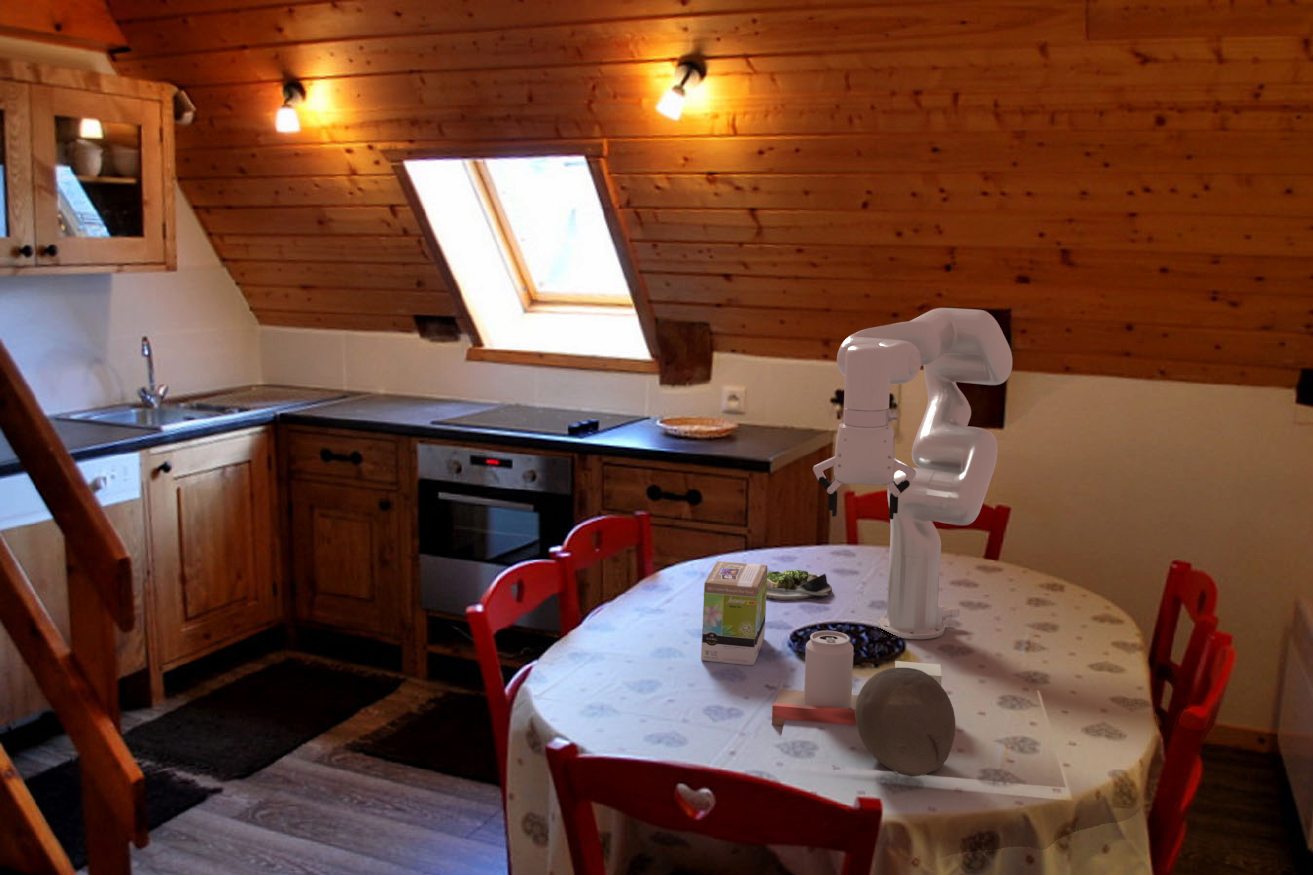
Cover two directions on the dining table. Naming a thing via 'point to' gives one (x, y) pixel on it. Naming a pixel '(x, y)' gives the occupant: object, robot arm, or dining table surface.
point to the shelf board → (809, 710)
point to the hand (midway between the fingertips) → (862, 515)
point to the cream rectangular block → (923, 668)
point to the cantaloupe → (906, 720)
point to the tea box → (734, 613)
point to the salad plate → (797, 585)
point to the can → (828, 670)
